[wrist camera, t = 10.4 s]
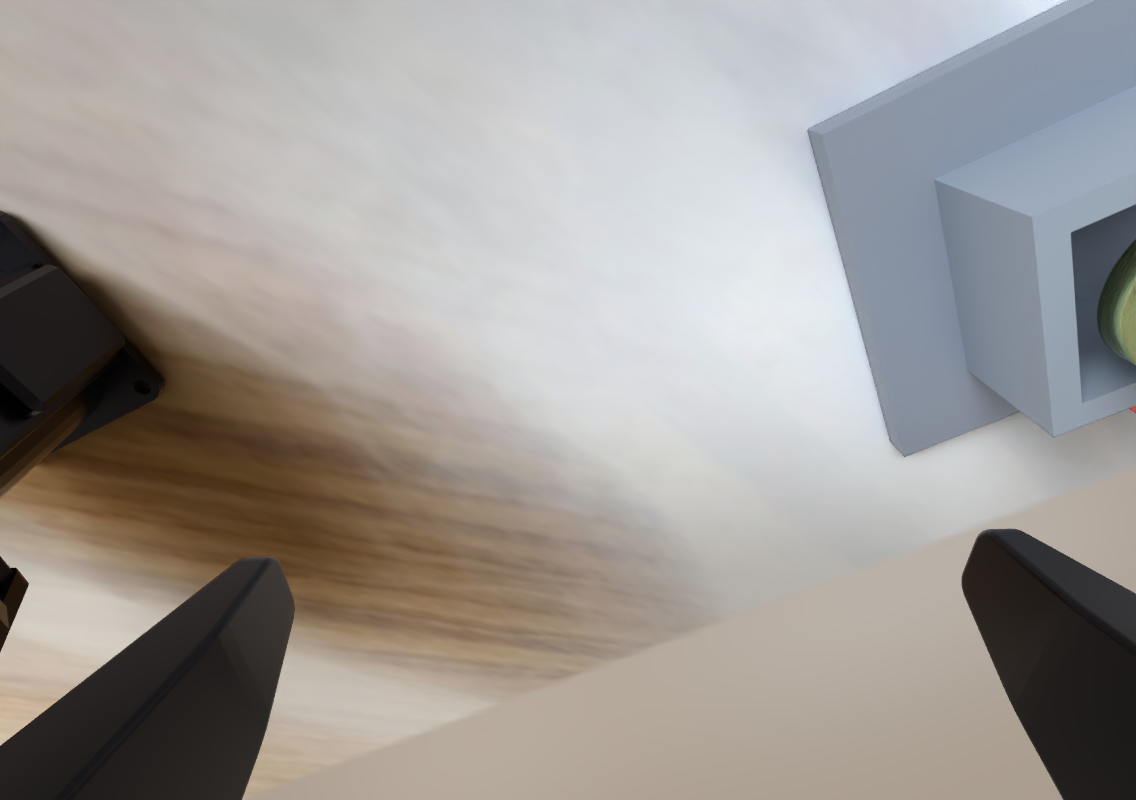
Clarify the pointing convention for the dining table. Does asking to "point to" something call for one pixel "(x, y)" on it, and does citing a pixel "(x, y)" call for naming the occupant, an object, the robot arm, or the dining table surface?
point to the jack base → (992, 226)
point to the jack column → (1120, 307)
